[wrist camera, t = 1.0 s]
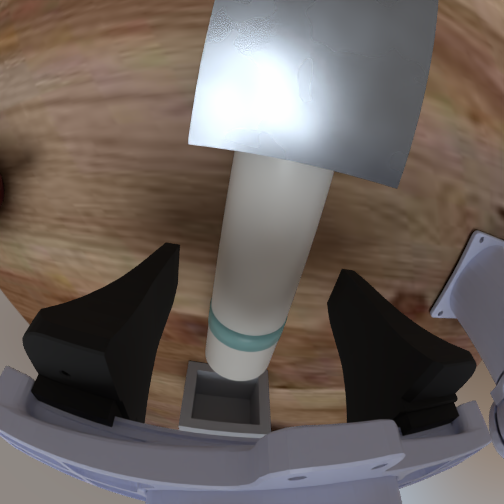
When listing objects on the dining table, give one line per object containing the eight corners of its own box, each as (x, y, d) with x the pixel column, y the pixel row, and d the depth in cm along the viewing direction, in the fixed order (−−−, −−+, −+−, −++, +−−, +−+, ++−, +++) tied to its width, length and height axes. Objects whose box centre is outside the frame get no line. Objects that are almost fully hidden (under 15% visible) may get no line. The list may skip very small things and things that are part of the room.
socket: (188, 360, 22) (178, 425, 17) (267, 370, 23) (271, 434, 17) (188, 389, 24) (180, 446, 19) (256, 397, 25) (257, 453, 20)
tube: (279, -57, 7) (290, -98, 3) (362, -33, 7) (397, -63, 4) (208, 326, 18) (201, 377, 15) (268, 334, 19) (271, 384, 15)
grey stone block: (255, -59, 7) (258, -123, 2) (379, -25, 8) (438, -63, 3) (213, 123, 13) (188, 143, 8) (342, 149, 13) (397, 188, 8)
